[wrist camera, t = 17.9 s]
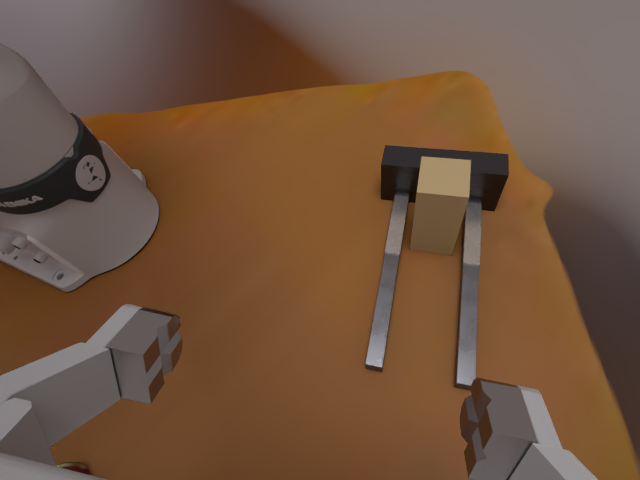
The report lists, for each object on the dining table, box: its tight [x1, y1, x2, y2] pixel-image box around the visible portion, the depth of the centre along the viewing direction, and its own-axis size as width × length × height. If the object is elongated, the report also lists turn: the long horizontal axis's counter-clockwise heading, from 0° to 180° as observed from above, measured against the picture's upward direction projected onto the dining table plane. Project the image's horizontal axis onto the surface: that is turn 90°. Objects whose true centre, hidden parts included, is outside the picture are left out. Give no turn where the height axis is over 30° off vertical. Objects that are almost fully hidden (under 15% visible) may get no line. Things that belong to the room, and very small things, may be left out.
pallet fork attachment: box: [366, 145, 509, 390], centre depth 39 cm, size 13×24×6 cm, turn 167°
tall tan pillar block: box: [410, 156, 471, 256], centre depth 40 cm, size 4×4×10 cm
